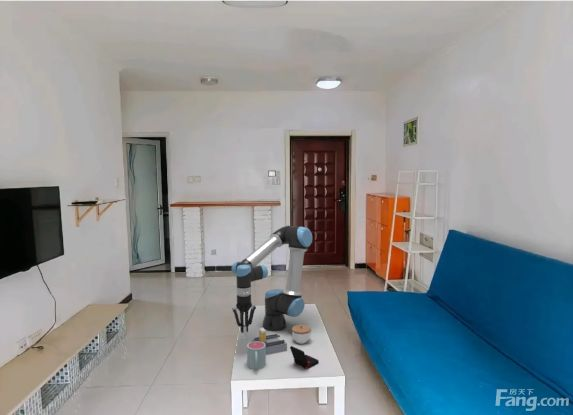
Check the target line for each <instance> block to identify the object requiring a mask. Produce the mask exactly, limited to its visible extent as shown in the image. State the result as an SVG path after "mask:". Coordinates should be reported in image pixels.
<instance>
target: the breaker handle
mask: <svg viewBox="0 0 573 415" xmlns="http://www.w3.org/2000/svg"><path fill="white" fill-rule="evenodd" d="M266 333H267V330H266V329H264V328H263V327H259V328H258V337H259V339H258V341H260V342H263V343H267V341H266V336H267V334H266Z"/></svg>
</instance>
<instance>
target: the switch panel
mask: <svg viewBox="0 0 573 415" xmlns="http://www.w3.org/2000/svg"><path fill="white" fill-rule="evenodd" d="M258 339H259V336H258V337H254V338H253V339H251V342H255V341H258ZM266 341H267V343H265V345H266V356H267V355H272V354H277V353H282V352H285V351H288V343H287V342H286V341H285V339H283V338H282V337H281V335H280V334H277V333H275V334H274V333H273V334H271V335H270V334H269V335H266Z"/></svg>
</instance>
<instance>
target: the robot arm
mask: <svg viewBox="0 0 573 415" xmlns="http://www.w3.org/2000/svg"><path fill="white" fill-rule="evenodd" d="M312 243H313V234H312V232H311V230H310V229H309V227H304V226H295V225H285V226H282V227H280V228H278V229H277V230H275V231H273V233H271V234H270V235H269V238H268V239H266V240H265V241H264V242H262V243H261V245H259V246H258V247H257V248H255V249H254V251H252V252H251V253H249V255H247V256H246V257H245V258H244V259H242V260H241V261H235V262H234V263H233V264H232V266H231V273H233V274H234V275H235V276H236V305H235V307H233V308H231V311H232V312H233V314H234V318H235V321H236V322H235V323H236V325H237V327H240V332H241V334H242V339H243V340H246V339H247V337H248V336H247V333H248V332H249V326H251V325H252V324H253V318H254V314H255V312H256V311H255V310H256V309H257V307H256V305H254V304H252V295H251V294H252V282H256V281H259V280H263V279H265V278H267V277H268V275H269V270H268V266H266V265H264V264H260V263H261V262H262V261H263V260H265V259H266V258H267V257H268V256H269V255H270V254H272V253H273V252H274V251H275V250H276V249H278V248H281V247H282V246H284V245H288V249H289V250H290V251H289V260H288V267H287V268H288V269H287V277H286V284H285V289H284V290H283V289H280V288H279V289H278V288H276V289H270V290H267V291H266V292H265V294H264V312H265V313H264V317H263V321H262V328H264V329H265V330H266V331H270V332H278V331H279V332H280V331H282V330H285V328H287V320H286V317H285V316H288V317H293V318H296V317H299V316H300V315H301V314H302V313H303V311H304V308H305V304H306V303H305V300H304V299H303V298H302V295H303V294H302V292H301V282H302V274H303V266H304V257H305V252H306V251H308V247H310V246H311V244H312ZM238 311H239V314H238ZM249 312H250V313H249Z"/></svg>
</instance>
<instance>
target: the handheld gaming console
mask: <svg viewBox="0 0 573 415" xmlns="http://www.w3.org/2000/svg"><path fill="white" fill-rule="evenodd" d="M289 349H290V352H291V355H292V357H293V361H294V362H293V363H294V364H295V365H297V366H299V367H302V369H303V368H304V369H305V370H309V369H311V368H312V367H314V366H316V365H318V364H319V359H317V358H314V357H313V356H310V355H308V354H306V353H305V351H304V350H302V349H299V348H297V347H295V346H293V345H291V346H290V347H289Z"/></svg>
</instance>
